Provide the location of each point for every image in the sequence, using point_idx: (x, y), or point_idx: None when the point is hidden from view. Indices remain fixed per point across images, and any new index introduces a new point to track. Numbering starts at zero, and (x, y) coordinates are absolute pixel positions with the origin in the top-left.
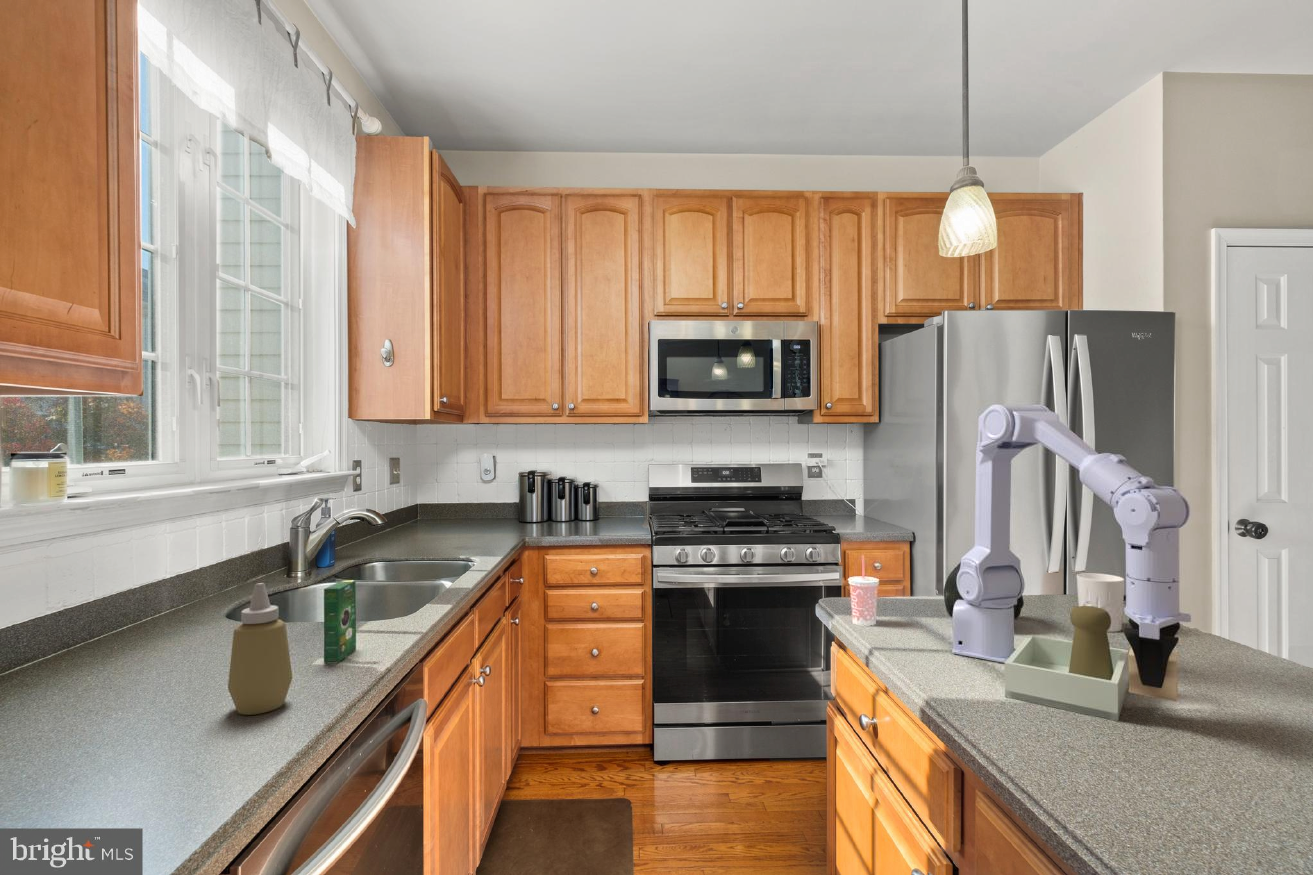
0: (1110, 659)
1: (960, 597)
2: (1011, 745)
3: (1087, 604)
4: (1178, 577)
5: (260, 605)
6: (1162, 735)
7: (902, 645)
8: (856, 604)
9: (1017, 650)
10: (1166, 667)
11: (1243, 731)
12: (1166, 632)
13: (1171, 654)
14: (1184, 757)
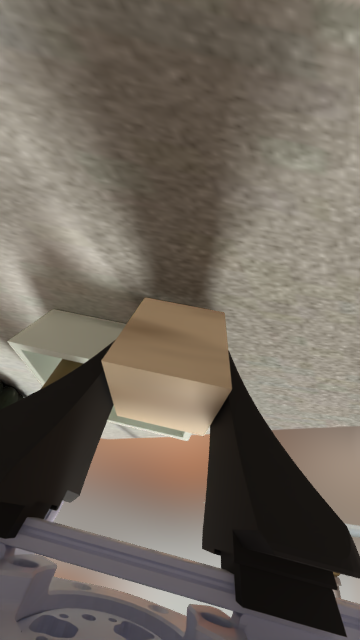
0: (78, 365)
1: None
2: (316, 415)
3: None
4: None
5: (338, 588)
6: (245, 305)
7: (115, 427)
8: None
9: (133, 427)
10: (248, 394)
11: (160, 161)
12: (59, 447)
13: (136, 376)
14: (333, 293)
